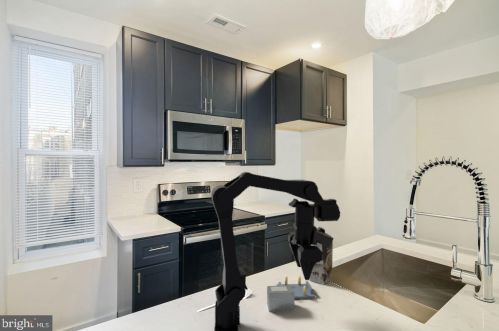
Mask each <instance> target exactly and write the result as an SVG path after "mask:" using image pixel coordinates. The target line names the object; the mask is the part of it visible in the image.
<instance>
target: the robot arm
mask: <svg viewBox="0 0 499 331" xmlns="http://www.w3.org/2000/svg"><path fill="white" fill-rule="evenodd" d="M249 187H253V188H259V189H263V190H270V191H275V192H281V193H286V194H289V195H290V196H294V197H297V198H293V199H292V201H290V202H289V203H288V206H289V207H291V208H295V209H294V210H295V211H294V222H293V224H292V226H293V228H294V231H290V232H289V233H288V234H287V241H288V245H289V247H290V250H291V252H292V256H293V257H294V260H295V263H296V265H297V268H300V269H301V271H302V274H303V278H304V280H305V281H310V280H309V278H310V276H311V273H312V270H313V267H314V265H315V264H316V263H317V262H320V261H322V260H323V252H322V251H321V250H320V249H319V248H318V247H317V246H311V244H313V245H317V243H319V244H322V245H324V246H326V247H327V248H330V247H331V244H332V242H333V241H334V237H333V236H332V235H331V234H328V233H326V229H325V228H324V227H320V226H318V227H316V226H315V220H317V222H337V221H339V219H340V217H341V211H340V207H339V205H338V203H337V199H334V198H327V199H324V198H323V196H322V195H321V194H320V192H319V187H318V185H317V183H316V182H314V181H312V180H306V179H282V178H276V177H272V176H271V177H270V176H265V175H261V174H255V173H252V172H249V171H243V172H241V173H240V174H239V175H238V176H236V177H235V178H233V179H231V180H230V181H228V182H226V183H225V184H223V185H220V184H219V185H216V186H215V187H214V188H213V189H212V191H211V193H210V197H211V200H212V203H213V207H214V210H215V213H216V216H217V219H218V228H219V234H220V236H219V237H220V243H221V252H222V258H223V260H222V261H223V270H222V282H221V284H220V285H219V286H218V287H217V288H216V289H215V291H214V292H215V297H216V298H215V299H216V300H215V303H214V304H215V307H214V329H213V330H214V331H239V326H240V324H241V322H240V321H241V316H240V315H241V310H240V307H241V306H240V302H241V301H242V300H244V299H243V298H244V297H245V292H246V290H247V289H249V287H247V286H248V285H247V283H246V280H247V277H246V273H245V270H244V269H243V266H239V264H238V257H237V249H236V241H235V234H234V225H233V214H234V213H233V212H234V201H235V199H236V198H238V197H239V196H240V195H241V194H242V193H243V192H245V190H247V189H248V188H249ZM298 198H300V199H302V200H299V199H298ZM308 201H309V202H308ZM310 202H311V203H310ZM333 243H334V242H333Z"/></svg>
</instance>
